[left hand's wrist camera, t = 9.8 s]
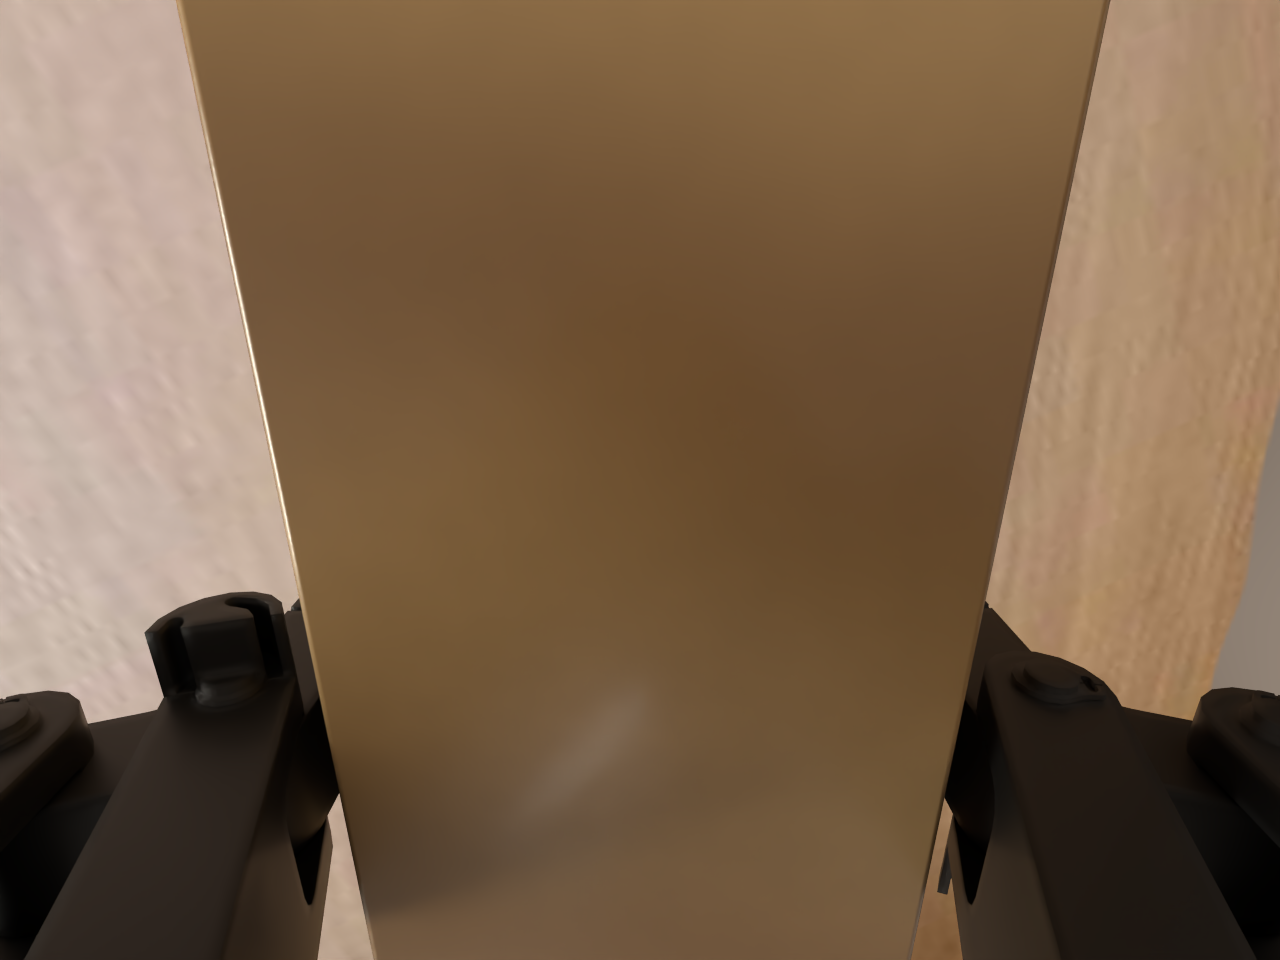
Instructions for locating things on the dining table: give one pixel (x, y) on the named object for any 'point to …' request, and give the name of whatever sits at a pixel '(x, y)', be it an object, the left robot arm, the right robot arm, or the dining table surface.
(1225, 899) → the left robot arm
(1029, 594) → the dining table surface
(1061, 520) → the dining table surface
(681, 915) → the bar
